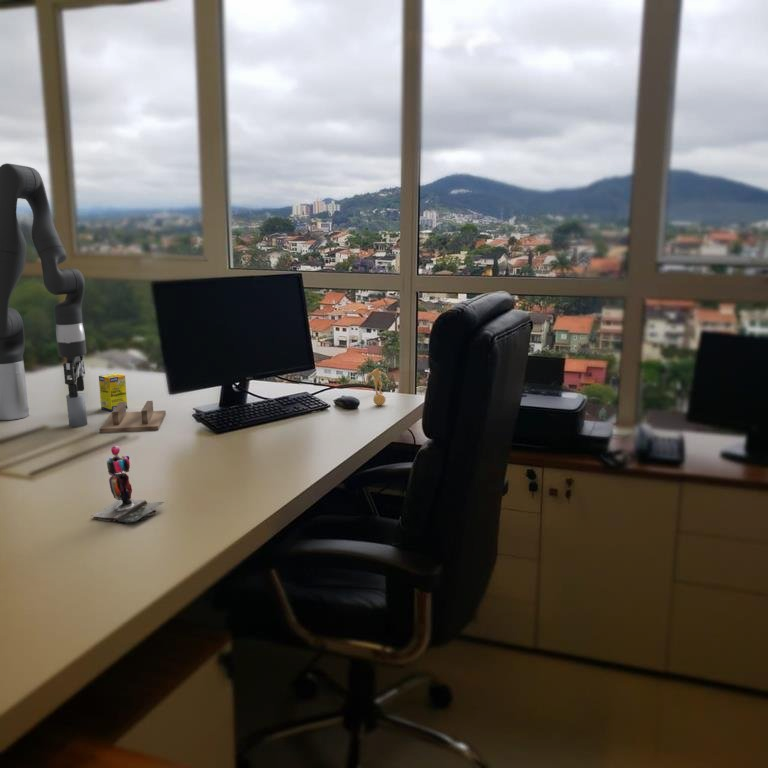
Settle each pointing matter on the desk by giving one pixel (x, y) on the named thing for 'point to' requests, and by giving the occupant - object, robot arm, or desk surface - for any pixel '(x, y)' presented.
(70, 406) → the grey block
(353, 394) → the desk surface
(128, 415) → the holder
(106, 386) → the supplement box
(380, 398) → the figurine
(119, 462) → the statue
